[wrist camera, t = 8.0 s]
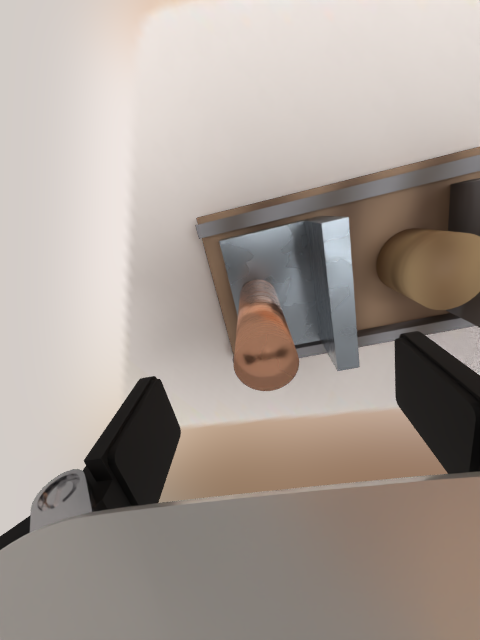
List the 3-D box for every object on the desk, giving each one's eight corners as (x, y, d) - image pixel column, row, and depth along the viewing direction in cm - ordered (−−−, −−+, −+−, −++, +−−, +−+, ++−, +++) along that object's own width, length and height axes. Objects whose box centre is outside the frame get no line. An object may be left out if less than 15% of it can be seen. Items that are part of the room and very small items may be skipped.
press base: (480, 146, 20) (605, 112, 13) (464, 316, 25) (548, 357, 18) (199, 217, 22) (177, 220, 15) (237, 359, 27) (234, 409, 20)
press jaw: (321, 215, 20) (401, 219, 10) (333, 331, 24) (402, 426, 13) (220, 239, 21) (193, 267, 11) (247, 347, 25) (247, 449, 14)
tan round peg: (441, 221, 20) (498, 223, 16) (438, 283, 22) (488, 301, 18) (375, 236, 21) (411, 243, 16) (377, 295, 23) (410, 316, 18)
